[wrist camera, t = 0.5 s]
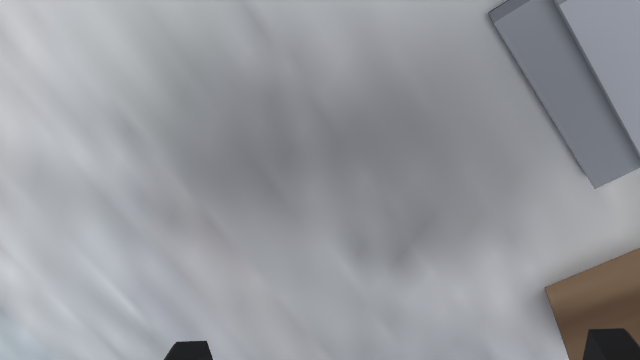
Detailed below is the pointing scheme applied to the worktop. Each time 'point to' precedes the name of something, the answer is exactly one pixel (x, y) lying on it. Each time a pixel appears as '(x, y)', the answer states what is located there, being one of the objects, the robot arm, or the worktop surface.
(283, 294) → the worktop surface
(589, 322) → the batten
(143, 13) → the worktop surface
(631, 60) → the fulcrum
